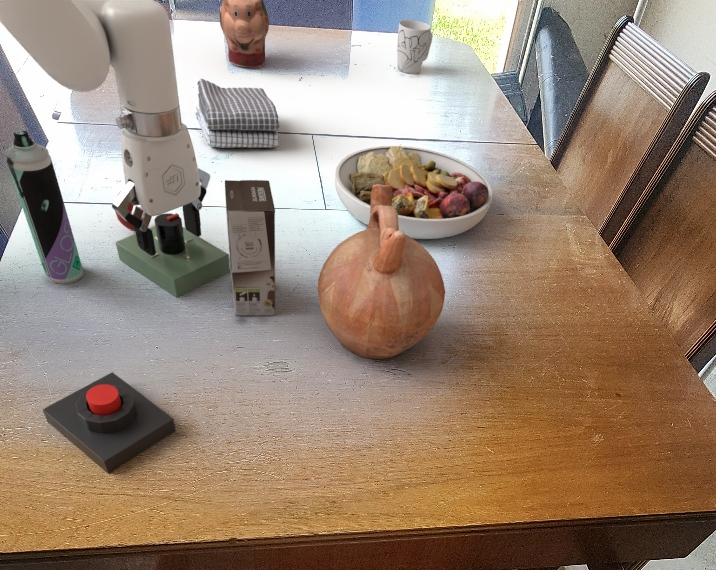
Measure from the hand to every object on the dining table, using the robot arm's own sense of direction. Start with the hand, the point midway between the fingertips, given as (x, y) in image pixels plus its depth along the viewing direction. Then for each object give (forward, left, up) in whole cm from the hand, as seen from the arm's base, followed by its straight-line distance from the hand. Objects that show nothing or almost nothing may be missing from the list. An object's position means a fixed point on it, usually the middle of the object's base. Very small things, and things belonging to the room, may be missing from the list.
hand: (171, 241), depth 95 cm
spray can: (-9, -14, -4) cm, 17 cm away
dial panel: (0, 0, -4) cm, 4 cm away
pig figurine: (-63, +76, -4) cm, 99 cm away
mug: (-34, +111, -4) cm, 116 cm away
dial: (0, 0, -1) cm, 1 cm away
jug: (+34, +10, -4) cm, 36 cm away
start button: (+23, -29, 0) cm, 37 cm away
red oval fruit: (-12, +2, -4) cm, 13 cm away
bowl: (+13, +47, -4) cm, 49 cm away
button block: (+23, -29, -4) cm, 37 cm away
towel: (-31, +43, -4) cm, 53 cm away
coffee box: (+15, +3, -4) cm, 16 cm away
